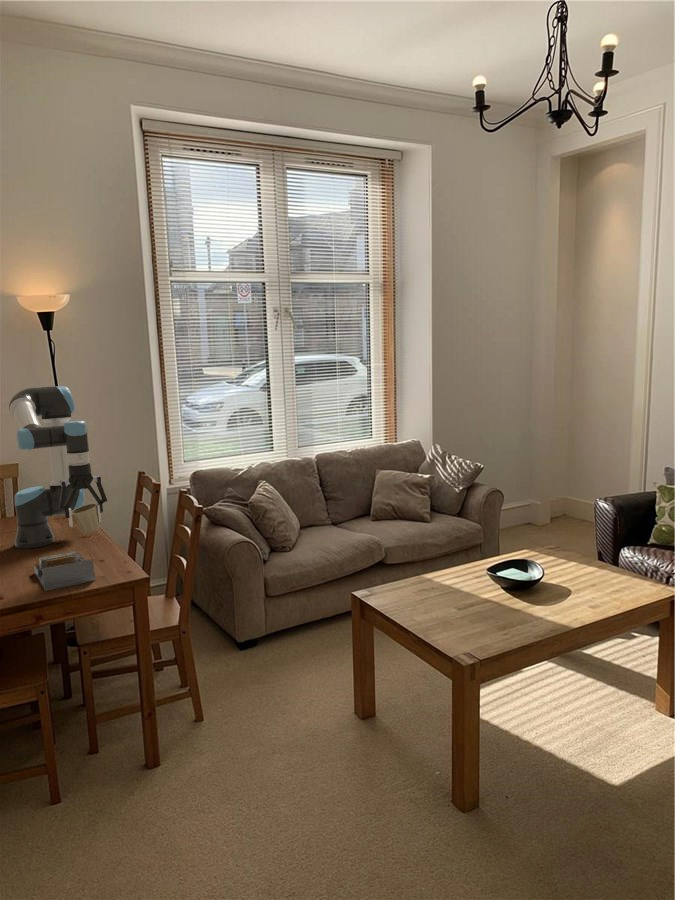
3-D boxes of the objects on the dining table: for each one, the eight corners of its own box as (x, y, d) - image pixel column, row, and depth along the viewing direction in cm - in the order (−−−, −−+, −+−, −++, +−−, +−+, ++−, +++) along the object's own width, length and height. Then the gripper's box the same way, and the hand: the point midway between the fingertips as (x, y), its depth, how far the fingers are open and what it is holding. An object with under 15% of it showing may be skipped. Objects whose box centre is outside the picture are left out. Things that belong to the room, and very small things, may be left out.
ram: (40, 568, 237) (39, 557, 237) (77, 561, 244) (76, 550, 243) (42, 571, 234) (41, 561, 233) (79, 564, 240) (78, 553, 240)
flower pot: (108, 522, 248) (100, 501, 246) (97, 532, 239) (89, 510, 237) (86, 527, 249) (78, 506, 247) (74, 537, 240) (65, 515, 238)
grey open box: (34, 573, 239) (32, 553, 237) (81, 564, 247) (79, 544, 246) (45, 591, 220) (42, 569, 219) (94, 580, 228) (92, 559, 227)
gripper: (48, 469, 230) (55, 531, 234) (112, 461, 242) (118, 520, 245) (44, 466, 236) (51, 527, 240) (107, 458, 248) (112, 516, 252)
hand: (85, 523), depth 243 cm, fingers closed on flower pot, 9 cm apart
